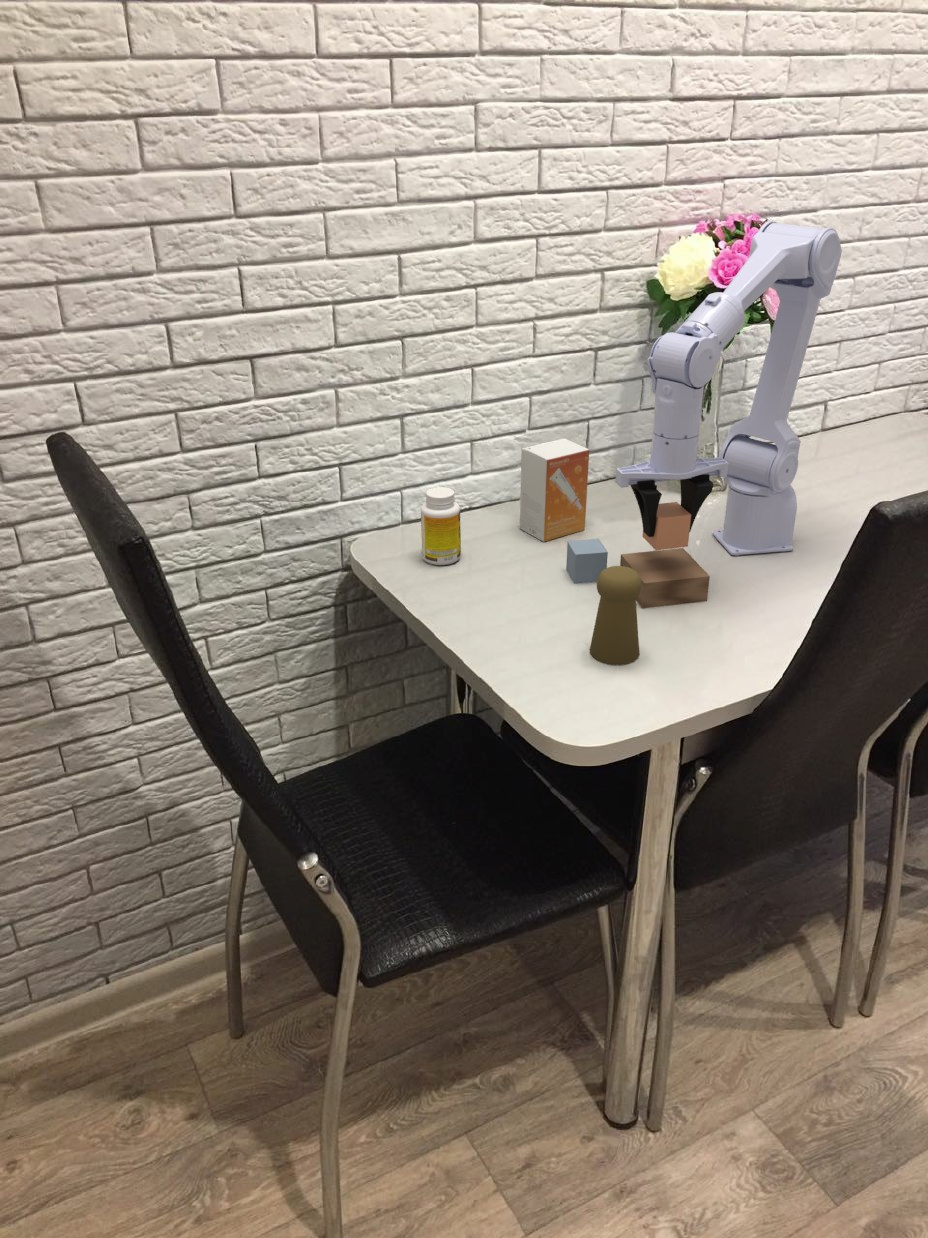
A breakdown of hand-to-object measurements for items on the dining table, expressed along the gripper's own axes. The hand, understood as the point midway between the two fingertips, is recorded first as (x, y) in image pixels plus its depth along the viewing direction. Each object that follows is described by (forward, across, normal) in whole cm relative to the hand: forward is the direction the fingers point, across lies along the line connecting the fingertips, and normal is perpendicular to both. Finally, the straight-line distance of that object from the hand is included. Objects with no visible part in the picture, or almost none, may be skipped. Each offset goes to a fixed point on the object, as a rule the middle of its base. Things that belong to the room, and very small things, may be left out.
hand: (666, 531), depth 136 cm
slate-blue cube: (+8, +8, -7) cm, 14 cm away
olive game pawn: (+9, +12, +14) cm, 21 cm away
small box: (+9, +8, -23) cm, 26 cm away
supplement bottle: (+9, +27, -17) cm, 33 cm away
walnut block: (+9, 0, 0) cm, 9 cm away
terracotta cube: (+2, 0, 0) cm, 2 cm away
